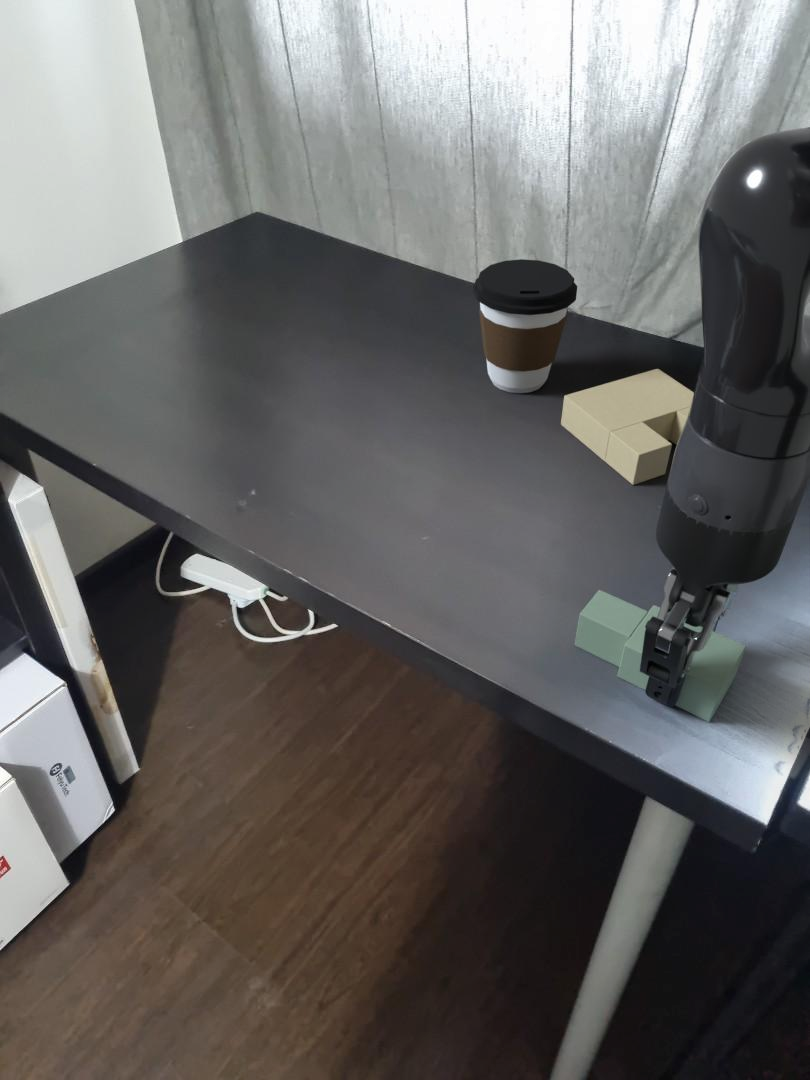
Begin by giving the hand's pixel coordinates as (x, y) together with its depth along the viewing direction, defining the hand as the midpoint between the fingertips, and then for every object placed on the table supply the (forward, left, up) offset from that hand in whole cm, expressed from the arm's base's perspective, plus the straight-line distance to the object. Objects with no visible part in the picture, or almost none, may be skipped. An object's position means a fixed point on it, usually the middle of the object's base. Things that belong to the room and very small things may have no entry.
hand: (676, 673), depth 60 cm
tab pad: (+2, +1, 0) cm, 2 cm away
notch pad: (+26, -18, 0) cm, 32 cm away
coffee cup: (+42, -13, -1) cm, 44 cm away
